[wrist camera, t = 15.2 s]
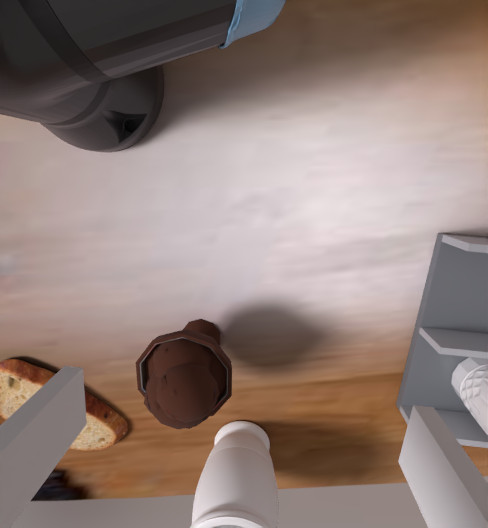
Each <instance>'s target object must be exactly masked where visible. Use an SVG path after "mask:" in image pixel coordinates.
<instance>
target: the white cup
mask: <svg viewBox="0 0 488 528" xmlns="http://www.w3.org/2000/svg"><path fill="white" fill-rule="evenodd" d="M451 384H452V386H453V388H454V390H455V392H456V394H457V395H458V396H459V397H460V399H461V400H462V401H463V403H464V405H465V406H466V407H467V409H468V410H469V412H470V413H471V414H472V416H473V417H474V418H475V420H476V421H477V422H478V424H479V425H480V426H481V428H482V429H483V430H484V431H485V433H486V434H487V435H488V359H484V358H474V357H468V358H467V359H465V360H464V361H462V362H461V363H459V364H458V366H457V367H456V368H455V370H454V371H453V373H452V381H451Z"/></svg>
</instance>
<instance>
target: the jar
mask: <svg viewBox="0 0 488 528" xmlns="http://www.w3.org/2000/svg"><path fill="white" fill-rule="evenodd" d="M214 444H215V446H214V448H213V449H212V451H211V453H210V455H209V457H208V459H207V462H206V465H205V467H204V469H203V471H202V474H201V477H200V479H199V482H198V486H197V489H196V494H195V499H194V505H193V514H192V525H191V527H190V528H277V524H278V510H279V509H278V508H279V507H278V506H279V505H278V503H279V502H278V489H277V483H276V479H275V475H274V468H273V463H272V459H271V456H270V454H269V449H270V442H269V438H268V436H267V434H266V433H265V431H264V430H263V429H262V428H260V427H259V426H258V425H256V424H254V423H251V422H247V421H235V422H231V423H228V424H227V425H225V426H223V427H222V428H221V429H220V430H219V431H218V433H217V435H216V437H215V443H214Z"/></svg>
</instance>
